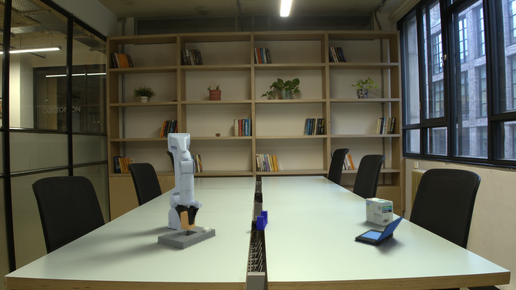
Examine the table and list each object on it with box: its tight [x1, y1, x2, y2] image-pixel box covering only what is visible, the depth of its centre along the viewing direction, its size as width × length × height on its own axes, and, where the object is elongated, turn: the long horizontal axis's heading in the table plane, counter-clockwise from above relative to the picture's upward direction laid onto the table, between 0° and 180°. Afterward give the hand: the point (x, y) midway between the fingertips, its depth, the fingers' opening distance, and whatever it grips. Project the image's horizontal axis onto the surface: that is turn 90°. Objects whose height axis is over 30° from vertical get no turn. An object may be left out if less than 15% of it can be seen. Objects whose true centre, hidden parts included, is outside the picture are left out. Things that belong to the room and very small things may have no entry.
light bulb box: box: [365, 197, 394, 227], centre depth 137 cm, size 11×7×11 cm, turn 22°
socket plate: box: [157, 225, 216, 250], centre depth 118 cm, size 14×18×4 cm
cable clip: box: [255, 210, 269, 231], centre depth 135 cm, size 12×4×6 cm, turn 169°
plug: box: [181, 211, 196, 230], centre depth 118 cm, size 4×4×7 cm
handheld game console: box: [354, 215, 404, 247], centre depth 113 cm, size 16×13×9 cm
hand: (187, 223), depth 118 cm, fingers closed on plug, 4 cm apart
